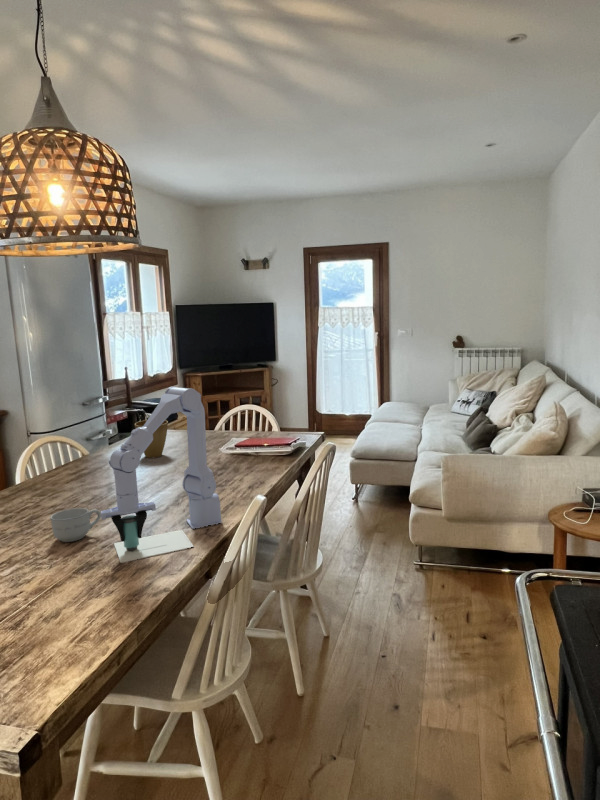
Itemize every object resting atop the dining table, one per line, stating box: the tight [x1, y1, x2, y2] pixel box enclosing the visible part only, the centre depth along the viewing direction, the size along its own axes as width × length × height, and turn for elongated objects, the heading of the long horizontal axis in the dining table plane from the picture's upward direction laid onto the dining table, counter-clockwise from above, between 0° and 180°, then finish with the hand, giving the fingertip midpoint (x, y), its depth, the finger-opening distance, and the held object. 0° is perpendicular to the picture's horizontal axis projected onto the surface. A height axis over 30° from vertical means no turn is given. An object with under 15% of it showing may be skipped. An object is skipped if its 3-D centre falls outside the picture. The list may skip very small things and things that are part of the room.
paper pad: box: [113, 529, 195, 564], centre depth 160 cm, size 20×14×1 cm
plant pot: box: [134, 419, 169, 459], centre depth 260 cm, size 15×15×16 cm
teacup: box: [49, 507, 101, 543], centre depth 168 cm, size 14×11×8 cm
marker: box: [121, 514, 139, 551], centre depth 156 cm, size 4×4×9 cm
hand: (131, 538), depth 157 cm, fingers closed on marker, 4 cm apart
